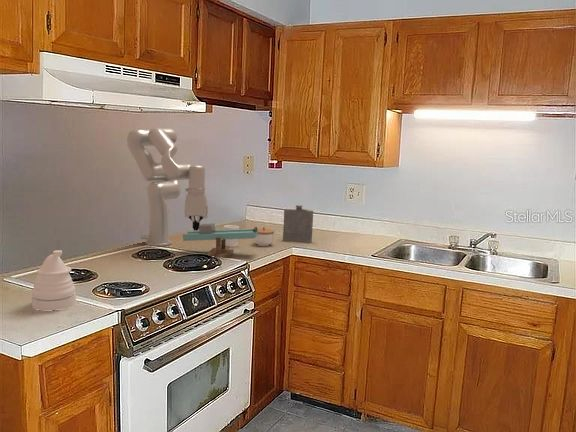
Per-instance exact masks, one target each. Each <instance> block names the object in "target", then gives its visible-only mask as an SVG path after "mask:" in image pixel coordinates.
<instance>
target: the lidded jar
mask: <svg viewBox="0 0 576 432" xmlns="http://www.w3.org/2000/svg"><path fill="white" fill-rule="evenodd" d="M257 229H258V235H257V237H256V238H253V240H254V242H255V243H256V245H257V246H258V247H269V246H270V245H271V243H273V240H274V236H275V230H273V229H271V228H266V227H265V226H264V227H262V228H257Z"/></svg>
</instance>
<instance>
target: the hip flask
mask: <svg viewBox="0 0 576 432" xmlns="http://www.w3.org/2000/svg"><path fill="white" fill-rule="evenodd" d="M313 223H314V210H308V209H306V208H303V205H302V204H301V205H299V204H296V205H295V208H284V210H283V229H282V230H283V233H282V242H292V243H301V244H302V243H303V244H312V241H313Z"/></svg>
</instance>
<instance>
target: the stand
mask: <svg viewBox="0 0 576 432" xmlns="http://www.w3.org/2000/svg"><path fill="white" fill-rule="evenodd" d="M234 249H235V248H230V247H227V246H226V239H223V240H222V241H221V238H220V237H216V240H215V247H212V249H210V250H209V251H208V252H207V253H206V256H207V255H209V256H214V257H213V258H220V257H223V258H224V259H229V258H230V257H231V256H232V255H233V253H234Z"/></svg>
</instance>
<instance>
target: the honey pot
mask: <svg viewBox="0 0 576 432" xmlns="http://www.w3.org/2000/svg"><path fill="white" fill-rule="evenodd" d="M52 252H53V254H49V255H47V257H46V258H45V259H44V261H43V262H42V263H41V264H42V265H41V267H40V268H38V269H37V270H36V273H37V276H36V279H35V280H34V284H33V287H32V290H31V307H32V306H33V307H34V308H36V309H39V310H56V309H63V308H68V307H71V306H73V305H74V304H75V303H77V299H76V298H77V295H76V289H77V287H76V286H75V285H74V281H73V278H72V277H71V275H70V272H71V271H72V268H71V267H70V266H68V265H65V262H64V260H63V259H61V256H62V254H63V250H61V249H60V250H57V249H56V250H53V251H52ZM75 305H76V304H75ZM75 305H74V306H75ZM74 306H73V307H74ZM33 307H32V308H33ZM71 308H72V307H71ZM68 309H69V308H68Z"/></svg>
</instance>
